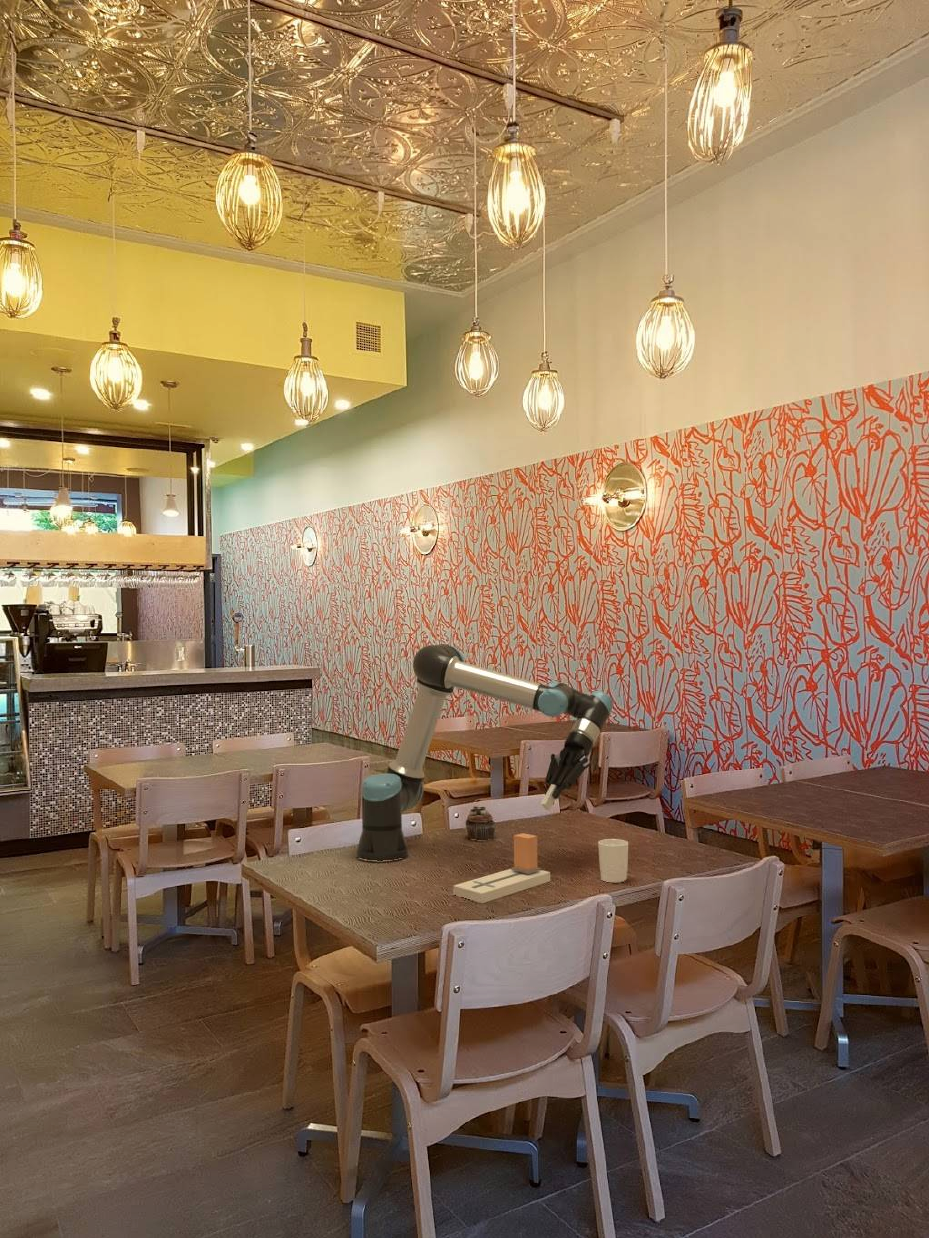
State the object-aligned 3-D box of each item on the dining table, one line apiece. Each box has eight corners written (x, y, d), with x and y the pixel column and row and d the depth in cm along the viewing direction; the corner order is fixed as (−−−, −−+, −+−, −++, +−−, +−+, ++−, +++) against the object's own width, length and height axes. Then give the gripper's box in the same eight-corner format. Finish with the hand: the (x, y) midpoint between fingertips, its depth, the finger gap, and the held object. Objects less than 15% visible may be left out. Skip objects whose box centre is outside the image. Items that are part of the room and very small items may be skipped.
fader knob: (523, 866, 242) (523, 832, 242) (540, 870, 237) (540, 835, 238) (511, 870, 238) (510, 835, 238) (528, 874, 234) (527, 839, 234)
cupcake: (496, 841, 282) (495, 809, 282) (465, 842, 282) (465, 810, 282) (495, 834, 292) (495, 803, 292) (465, 835, 292) (465, 804, 292)
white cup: (610, 886, 232) (610, 847, 232) (592, 878, 239) (592, 841, 239) (635, 881, 236) (634, 843, 236) (616, 874, 243) (616, 837, 243)
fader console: (521, 874, 244) (521, 865, 244) (550, 881, 237) (550, 871, 237) (453, 895, 226) (453, 885, 226) (482, 903, 219) (481, 892, 219)
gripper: (606, 749, 252) (570, 818, 240) (569, 745, 261) (533, 812, 249) (594, 731, 248) (557, 801, 236) (557, 728, 258) (520, 795, 245)
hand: (545, 806), depth 243 cm, fingers closed
